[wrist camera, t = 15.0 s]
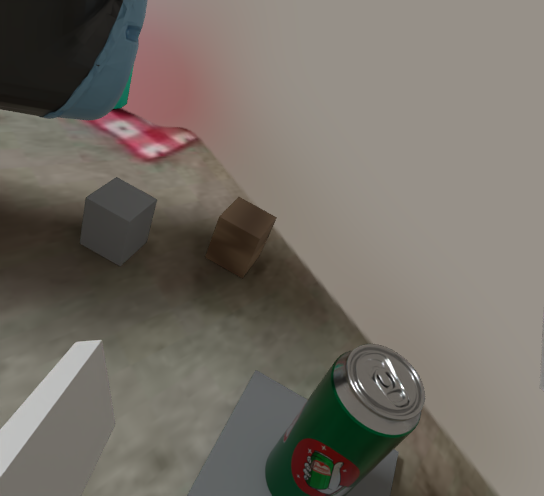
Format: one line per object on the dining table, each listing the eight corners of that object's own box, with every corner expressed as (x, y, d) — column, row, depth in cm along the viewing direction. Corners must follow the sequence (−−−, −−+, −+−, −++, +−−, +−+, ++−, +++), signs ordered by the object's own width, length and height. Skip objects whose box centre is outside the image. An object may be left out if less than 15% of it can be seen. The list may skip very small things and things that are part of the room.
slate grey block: (79, 243, 42) (85, 197, 39) (108, 221, 45) (116, 177, 42) (120, 266, 42) (129, 221, 39) (146, 242, 45) (157, 199, 42)
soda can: (311, 434, 35) (393, 330, 28) (348, 505, 32) (451, 410, 25) (249, 456, 33) (322, 347, 25) (284, 536, 30) (378, 439, 22)
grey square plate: (171, 523, 29) (174, 518, 28) (252, 375, 38) (255, 370, 38) (356, 637, 28) (363, 634, 27) (393, 457, 37) (398, 452, 37)
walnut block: (204, 257, 46) (219, 216, 43) (223, 236, 49) (238, 196, 46) (242, 278, 46) (259, 239, 43) (259, 256, 49) (276, 217, 46)
